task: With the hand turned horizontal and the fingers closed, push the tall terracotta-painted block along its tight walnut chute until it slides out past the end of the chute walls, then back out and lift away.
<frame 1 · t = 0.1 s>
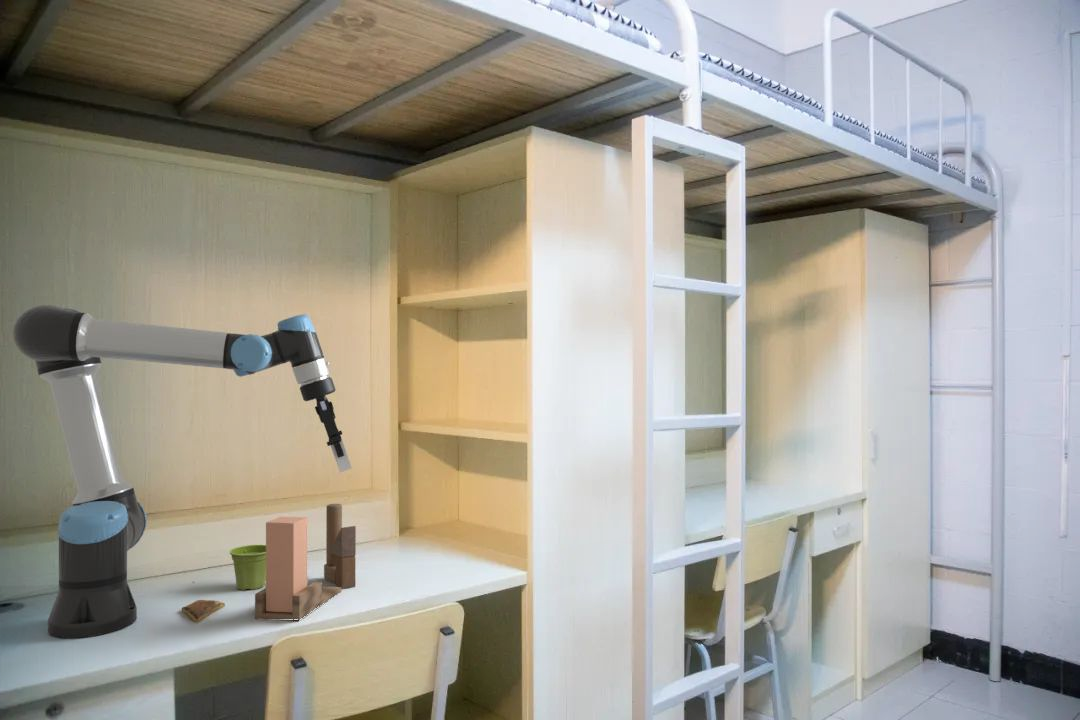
hand: (344, 466, 175), 28 cm above the table, tool tilted 20°, fingers open, 13 cm apart
shard: (207, 615, 156), on the table
block: (286, 563, 155), point 10 cm above the table, slide at 0.0 cm
wooden block: (339, 583, 177), on the table
plant pot: (251, 587, 174), on the table
chute: (296, 607, 158), on the table
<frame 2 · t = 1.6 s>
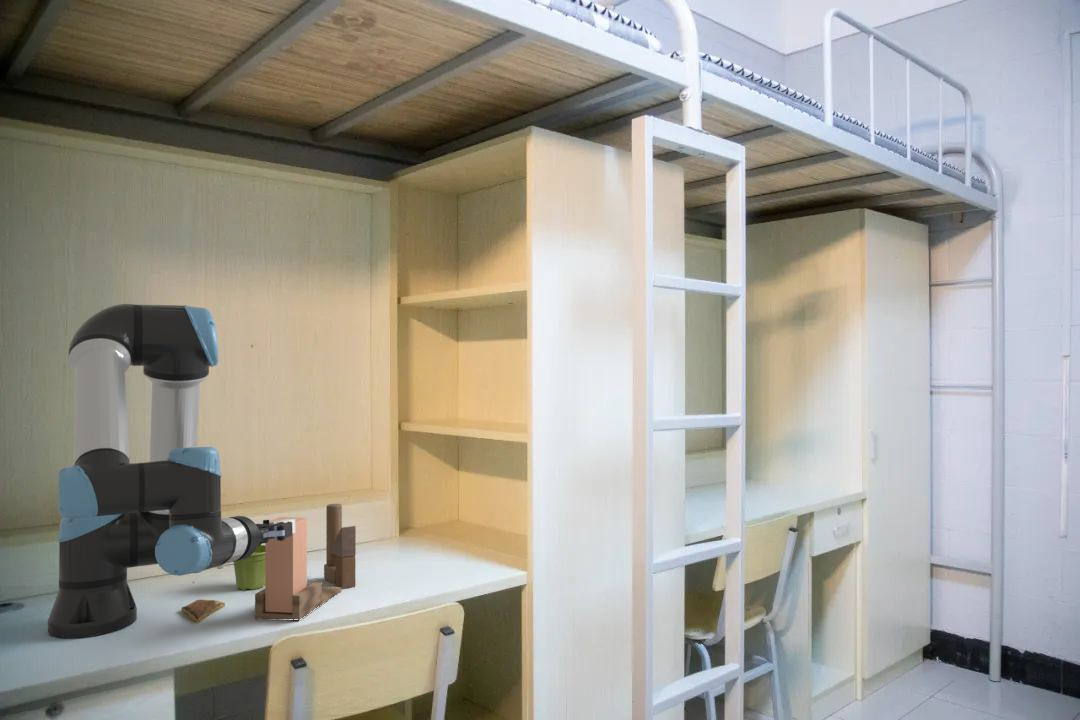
hand: (290, 526, 150), 19 cm above the table, tool horizontal, fingers closed
nothing on the table moved.
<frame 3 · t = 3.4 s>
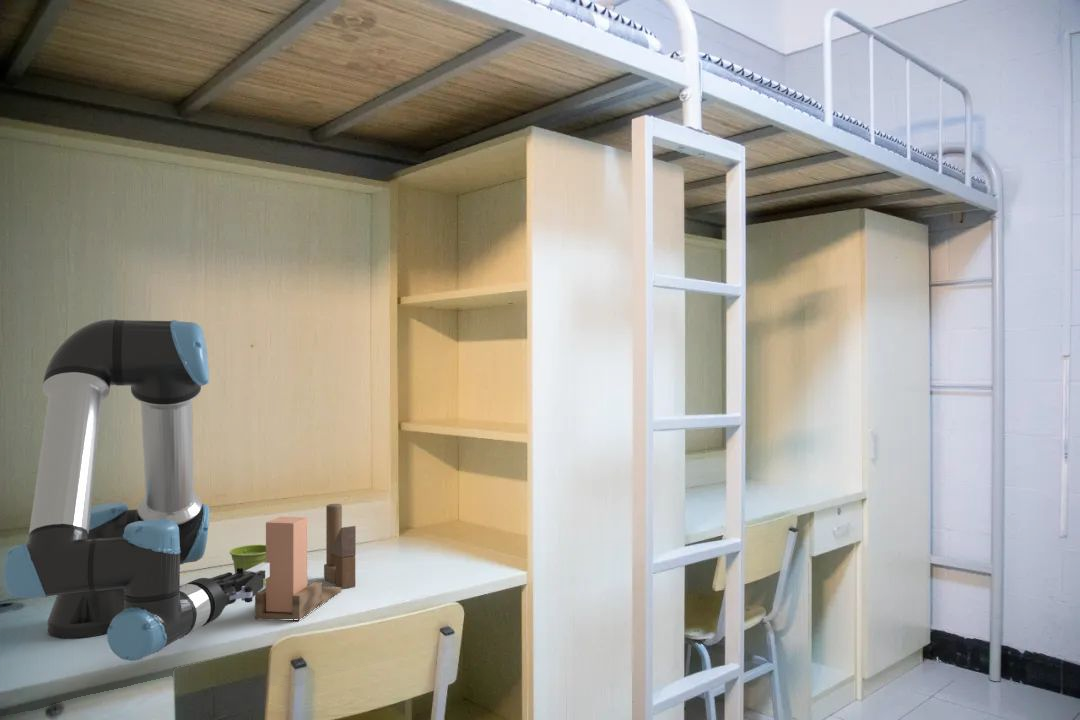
hand: (266, 569, 146), 11 cm above the table, tool horizontal, fingers closed
nothing on the table moved.
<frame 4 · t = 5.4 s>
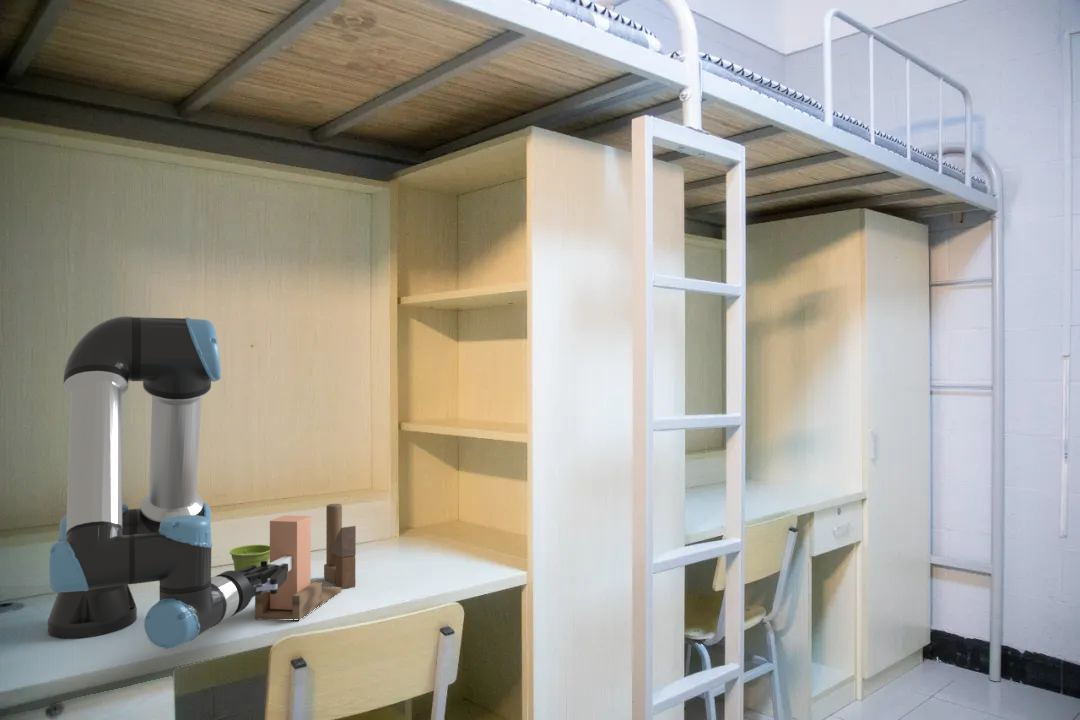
hand: (288, 562, 153), 11 cm above the table, tool horizontal, fingers closed
block: (290, 561, 156), point 10 cm above the table, slide at 1.5 cm, touching gripper
everything else where it was.
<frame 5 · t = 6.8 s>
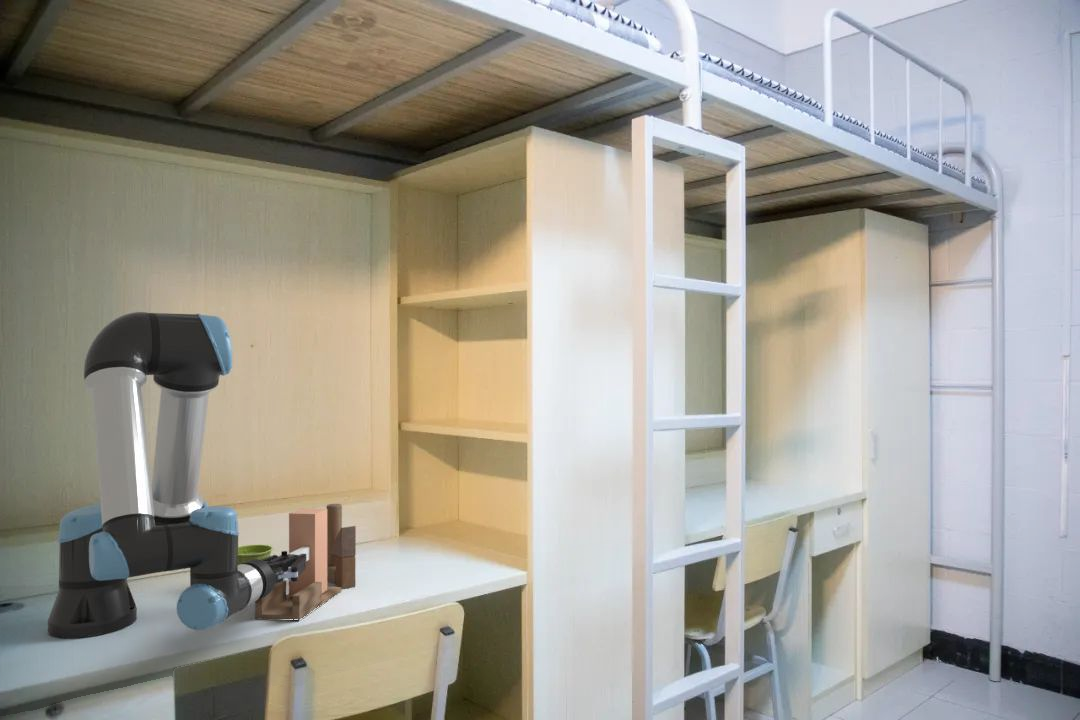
hand: (306, 553, 161), 11 cm above the table, tool horizontal, fingers closed
block: (308, 552, 164), point 10 cm above the table, slide at 9.7 cm, touching gripper
everything else where it was.
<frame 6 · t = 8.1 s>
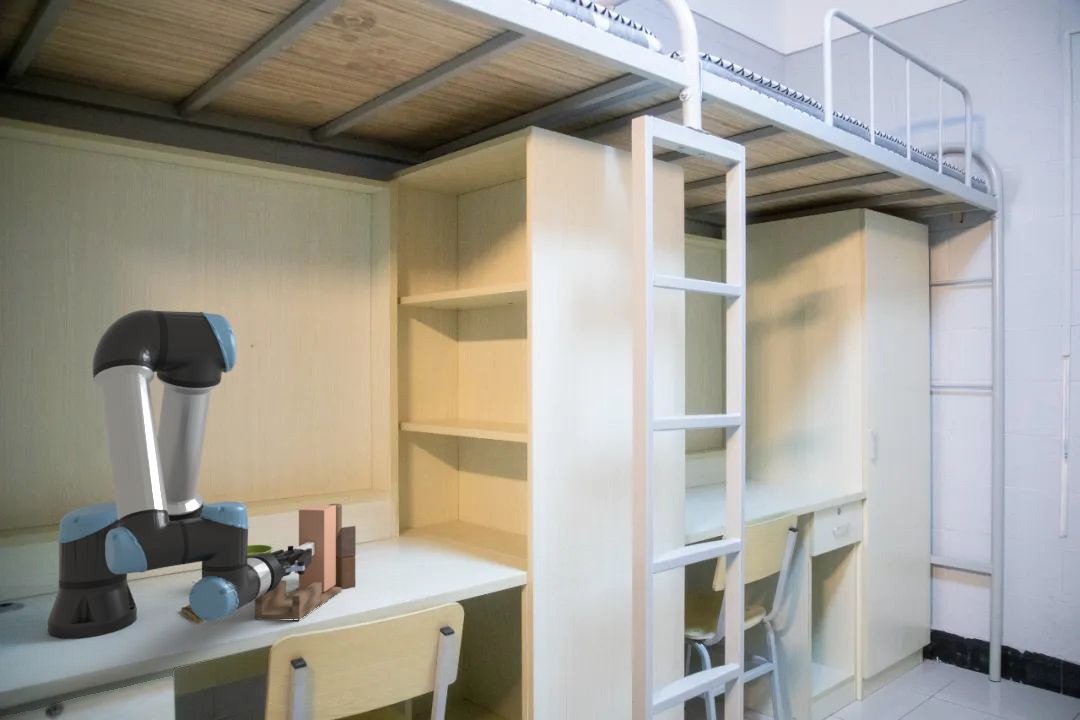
hand: (311, 547, 165), 11 cm above the table, tool horizontal, fingers closed
block: (317, 547, 169), point 10 cm above the table, slide at 14.1 cm, touching gripper
everything else where it was.
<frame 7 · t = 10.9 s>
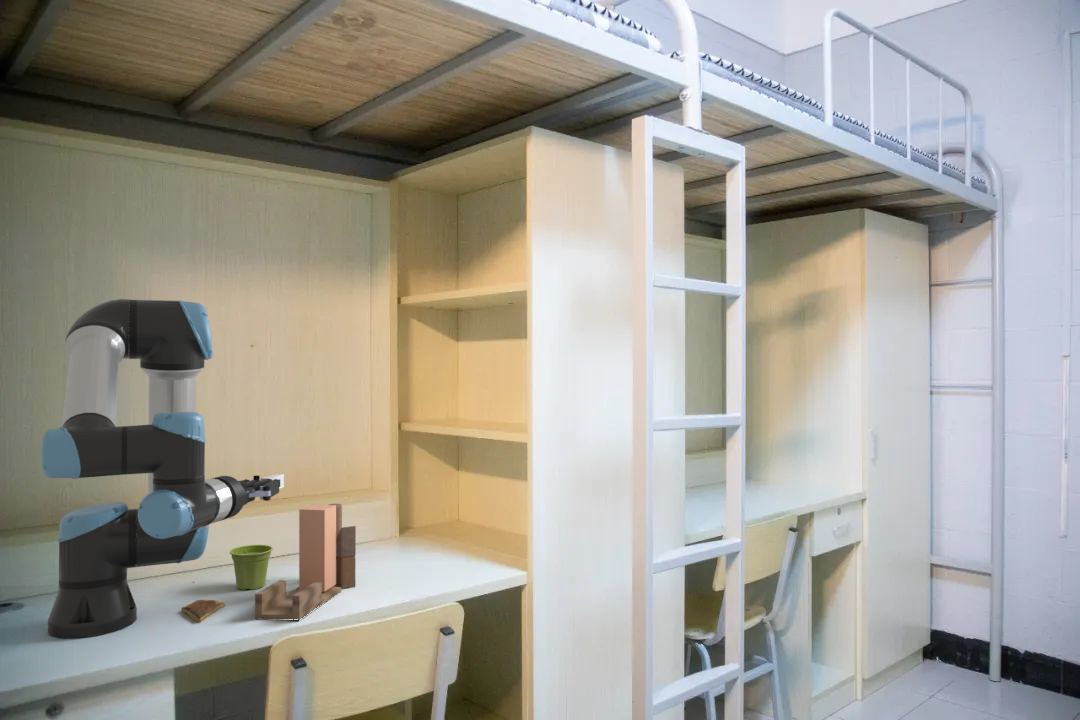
hand: (280, 480, 153), 28 cm above the table, tool horizontal, fingers closed
block: (317, 547, 169), point 10 cm above the table, slide at 14.3 cm
everything else where it was.
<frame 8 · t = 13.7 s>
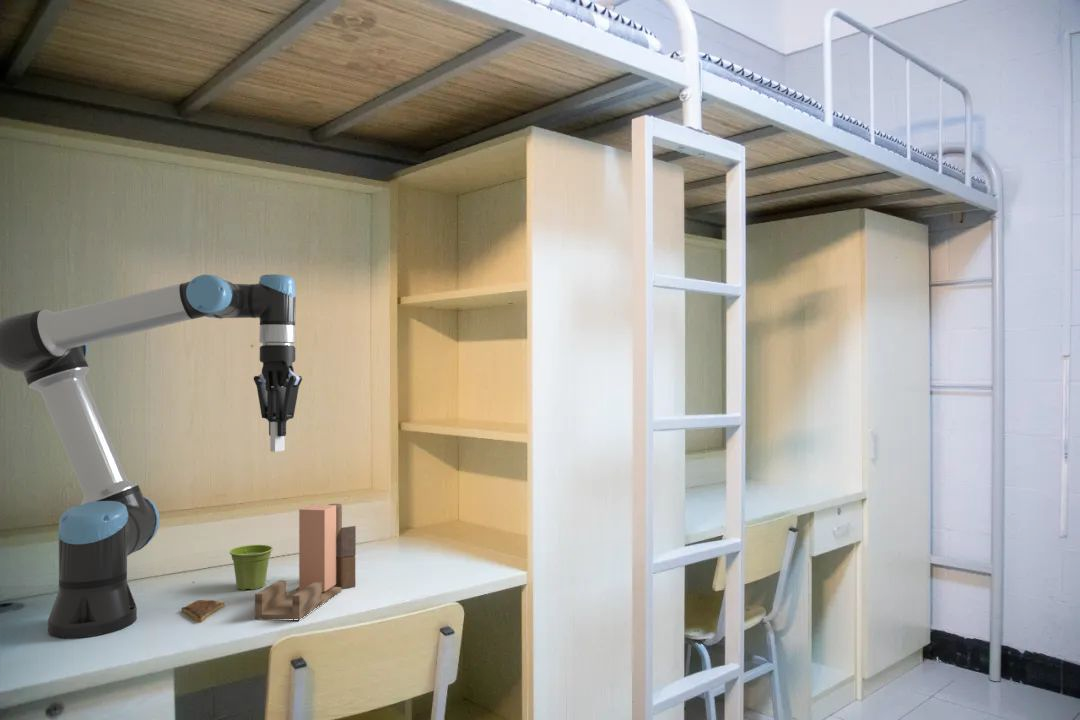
hand: (277, 450, 166), 32 cm above the table, tool pointing down, fingers closed
nothing on the table moved.
at the end: block slide at 14.3 cm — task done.
